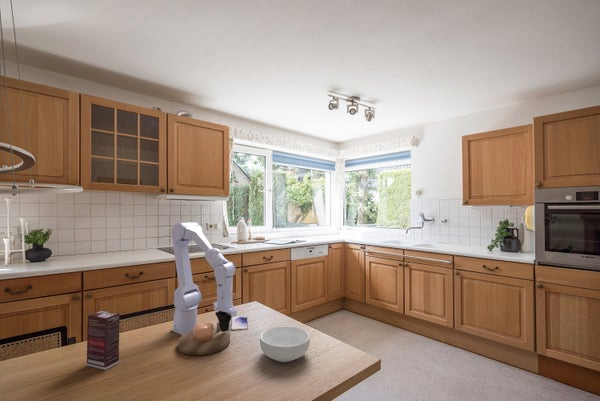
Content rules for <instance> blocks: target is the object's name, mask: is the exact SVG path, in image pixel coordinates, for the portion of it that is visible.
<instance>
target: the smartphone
mask: <svg viewBox="0 0 600 401" xmlns="http://www.w3.org/2000/svg"><path fill="white" fill-rule="evenodd" d="M230 322H231V323H230V331H231V332H234V331H235V332H236V331H237V332H238V331H246V330H247V331H248V330H249V324H248V323H249V320H248V316H247V315H237V316H235V317H232V318H231V320H230Z"/></svg>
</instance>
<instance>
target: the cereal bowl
mask: <svg viewBox="0 0 600 401" xmlns="http://www.w3.org/2000/svg"><path fill="white" fill-rule="evenodd" d="M310 339H311V335H310V334H309V332H308V331H307V330H305V329H303V328H301V327H297V326H289V325H288V326H285V325H282V326H276V327H275V326H274V327H271V328H268V329H266V330H264V331H262V333H260V335H259V345H260V348H261V351H262V352H263V354H264V355H265V356H266V357H267V358H270V359H272V360H275V361H276V362H279V363H289V362H293V361H294V360H297V359H299V358H301V357H303V356H304V355H305V354H306V353H307V352H308V350H309V347H310Z"/></svg>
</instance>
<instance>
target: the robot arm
mask: <svg viewBox="0 0 600 401" xmlns="http://www.w3.org/2000/svg"><path fill="white" fill-rule="evenodd" d="M170 233H171V235H172V236H171V237H172V238H171V239H172V246H173V253H174V261H175V267H176V274H177V282H178V287H177V288H175V291H174V292H173V295H174V296H173V297H174V299H173V305H174V308H175V310H174V311H173V312H174V313H173V328H171V331H172V332H174V333H177V334H179V335H181V336H183V335H184V334H186V333H188V332H190V331H193V327H194V326H195V325H197V324H198V307H199V304H200V303H201V301H202V299H203V298H202V294H201V291H200V288H199V285H197V284H196V283H194V282H193V281H194V280H193V279H194V278H193V273H192V268H191V260H190V254H189V248H188V246H189V244H190V243H191V242H192V241H193V242H194V243H195V244H196V245H197V246H198V248H200V249H201V250H202V251H203V253H204V258H205V260H206V261H207V263H208V264H209V265H210V266H211V268H212V269H213V270H214V271H213V275H214V278H215V282H216V301H214V302H213V303H212V304H213V306H212V307H213V310H214V311H215V314H214V315H215V316H216V317H217V322H218V321H219V324H220V329H221V331H222V332H225V331H228V327H229V323H230V322H231V320H232V317H235V316H238V311H237V309H235V307H234V305H233V289H234V288H233V286H234V285H233V281H234V280H233V277H234V276H235V274H236V271H237V269H236V265H235V262H232V261H229V260H228V259H227V258H225V257H224V255H223V254H222V253H221V250H220V249H219V248H216V247H213V246H212V245H211V243H210V242H209V241H208V240H209V239H207V238H206V236H205V235H204V233H203V228H202V226H200V224H199V223H198V222H196V221H191V222H176V223H175V224H174V225H173V226H172V228H171V232H170ZM230 324H231V323H230Z"/></svg>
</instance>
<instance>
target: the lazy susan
mask: <svg viewBox="0 0 600 401" xmlns="http://www.w3.org/2000/svg"><path fill="white" fill-rule="evenodd" d="M230 342H231V333H230V331H229V332H228V331H225V332H222V331H221V329H220V324H219V321H218V320H217V322H216V327H214V326H213V338H212V339H210V340H208V341H203V342H197V341H194V340H193V331H190V332H188V333H186V334H184V335H181V336H180V337H179V338H178V343H177V344H178V345H177V346H178V347H177V348H178V350H179V352H181V353H183V354H186V355H190V356H203V355H209V354H213V353H216V352H220V351H221V350H223V349H225V348H226V347H228V345H230Z"/></svg>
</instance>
